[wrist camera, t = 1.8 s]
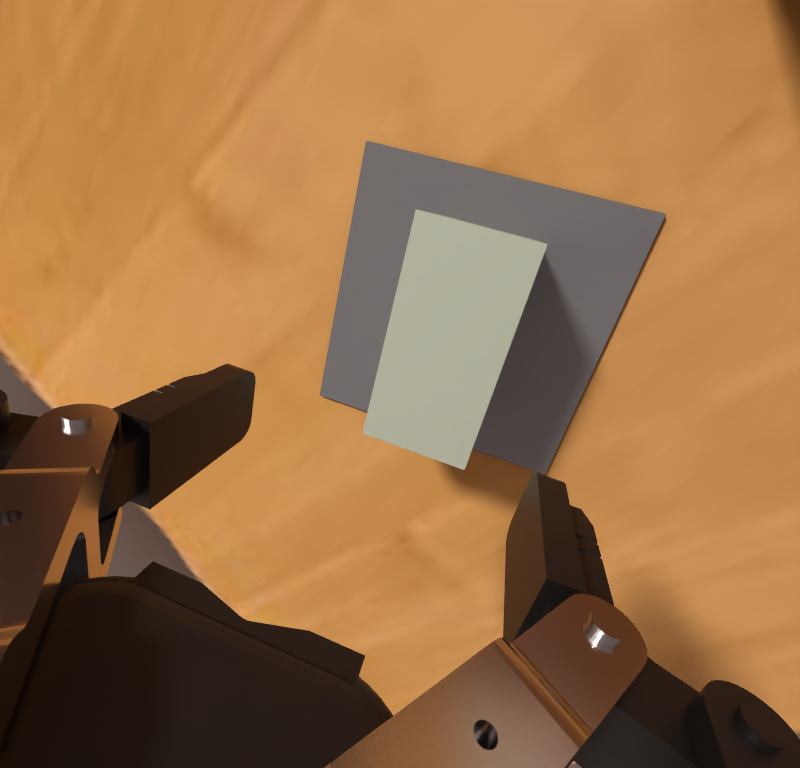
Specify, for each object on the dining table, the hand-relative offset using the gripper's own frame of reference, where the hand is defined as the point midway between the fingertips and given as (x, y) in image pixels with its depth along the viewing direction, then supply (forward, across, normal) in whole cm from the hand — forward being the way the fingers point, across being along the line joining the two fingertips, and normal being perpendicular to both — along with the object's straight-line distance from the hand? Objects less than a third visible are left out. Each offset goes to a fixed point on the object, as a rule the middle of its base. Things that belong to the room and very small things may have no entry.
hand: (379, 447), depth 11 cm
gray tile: (+18, 0, 0) cm, 19 cm away
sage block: (+18, 0, 0) cm, 18 cm away
